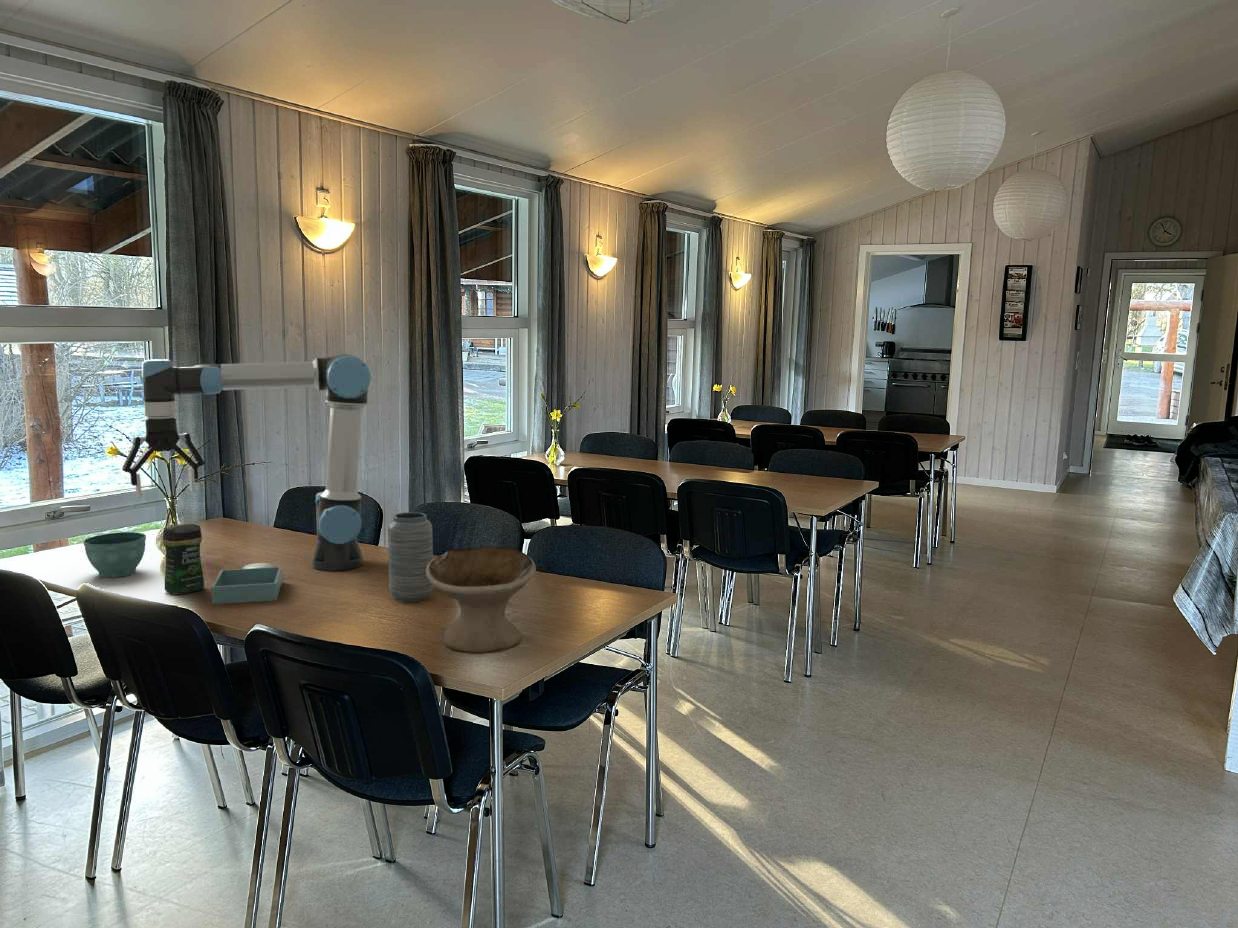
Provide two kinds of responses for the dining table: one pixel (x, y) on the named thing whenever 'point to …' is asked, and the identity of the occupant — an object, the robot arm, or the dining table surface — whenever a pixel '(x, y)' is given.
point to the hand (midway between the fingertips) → (166, 494)
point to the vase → (409, 556)
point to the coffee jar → (183, 559)
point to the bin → (247, 585)
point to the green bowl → (115, 553)
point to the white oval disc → (258, 565)
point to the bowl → (481, 594)
